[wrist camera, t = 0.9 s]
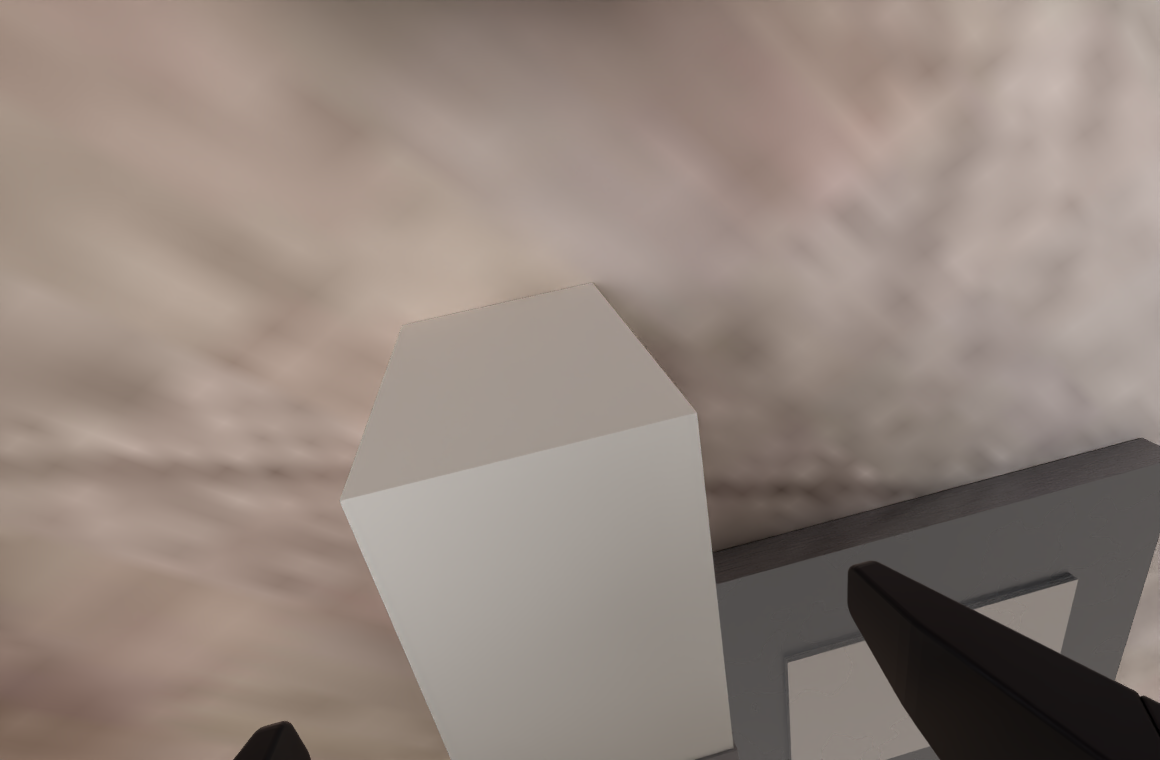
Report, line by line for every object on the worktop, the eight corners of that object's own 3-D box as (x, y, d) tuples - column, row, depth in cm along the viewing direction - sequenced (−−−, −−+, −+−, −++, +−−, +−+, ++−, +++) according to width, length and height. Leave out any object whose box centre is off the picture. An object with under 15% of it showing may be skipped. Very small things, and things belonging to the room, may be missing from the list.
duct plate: (1142, 437, 19) (1190, 460, 18) (1067, 718, 25) (1099, 750, 23) (667, 565, 18) (682, 599, 16) (707, 830, 23) (720, 870, 22)
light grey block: (594, 281, 14) (702, 413, 7) (640, 544, 17) (742, 794, 11) (399, 325, 13) (333, 504, 7) (485, 585, 17) (494, 870, 10)
